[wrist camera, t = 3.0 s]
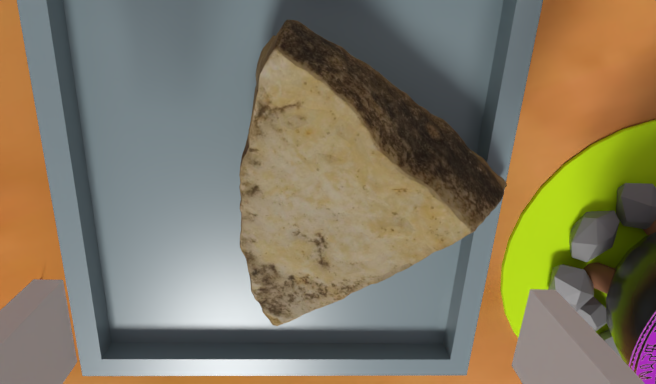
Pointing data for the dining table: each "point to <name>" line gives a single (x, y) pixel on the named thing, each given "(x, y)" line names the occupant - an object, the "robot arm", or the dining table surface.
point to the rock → (346, 178)
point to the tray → (224, 181)
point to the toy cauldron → (595, 245)
